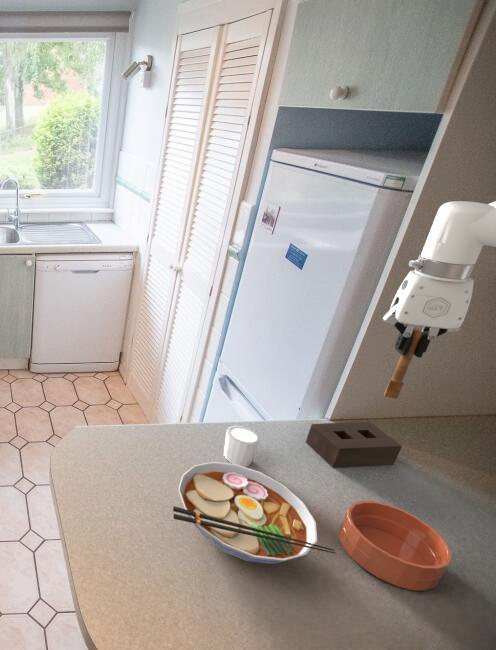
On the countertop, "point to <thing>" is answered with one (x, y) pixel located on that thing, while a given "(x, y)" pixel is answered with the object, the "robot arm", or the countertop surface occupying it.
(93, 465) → the countertop surface
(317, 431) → the holder
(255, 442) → the white short cylinder
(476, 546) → the countertop surface
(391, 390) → the stick
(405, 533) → the baking dish
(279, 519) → the ramen bowl
